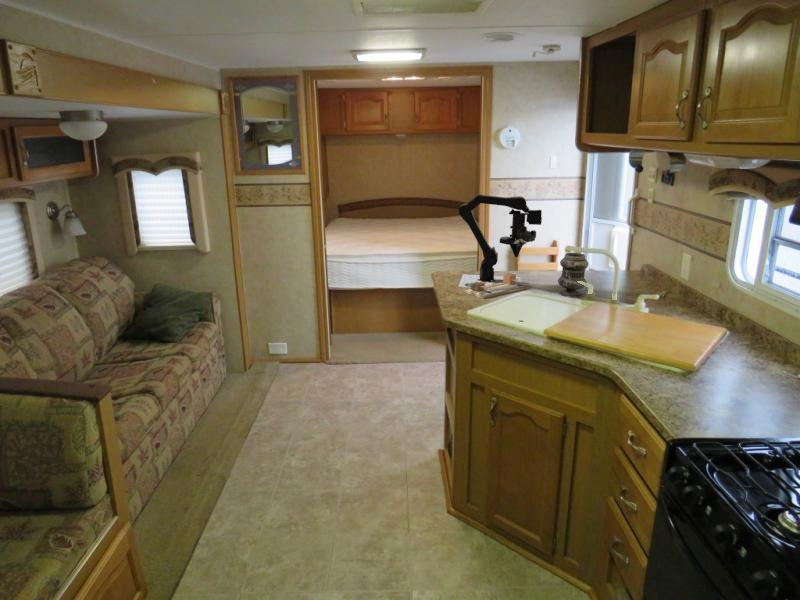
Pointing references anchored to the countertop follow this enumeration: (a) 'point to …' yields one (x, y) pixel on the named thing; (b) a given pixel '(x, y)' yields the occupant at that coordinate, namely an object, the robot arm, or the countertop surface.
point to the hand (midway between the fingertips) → (516, 257)
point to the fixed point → (478, 286)
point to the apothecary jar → (572, 274)
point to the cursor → (510, 278)
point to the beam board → (497, 289)
